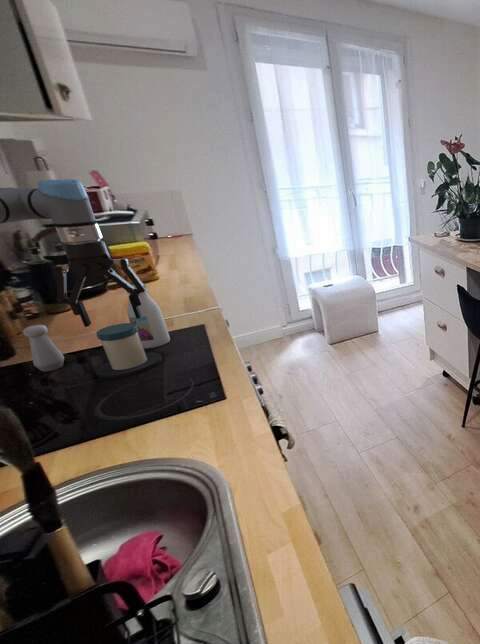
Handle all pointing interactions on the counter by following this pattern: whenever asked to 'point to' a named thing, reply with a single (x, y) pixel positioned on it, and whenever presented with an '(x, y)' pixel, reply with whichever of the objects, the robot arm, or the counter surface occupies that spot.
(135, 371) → the trivet
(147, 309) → the milk bottle
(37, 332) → the salt shaker
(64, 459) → the counter surface
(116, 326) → the lid
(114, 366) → the jar
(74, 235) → the robot arm
